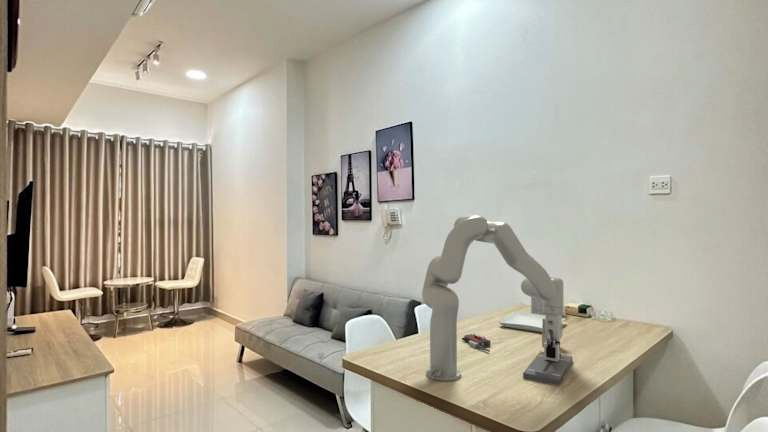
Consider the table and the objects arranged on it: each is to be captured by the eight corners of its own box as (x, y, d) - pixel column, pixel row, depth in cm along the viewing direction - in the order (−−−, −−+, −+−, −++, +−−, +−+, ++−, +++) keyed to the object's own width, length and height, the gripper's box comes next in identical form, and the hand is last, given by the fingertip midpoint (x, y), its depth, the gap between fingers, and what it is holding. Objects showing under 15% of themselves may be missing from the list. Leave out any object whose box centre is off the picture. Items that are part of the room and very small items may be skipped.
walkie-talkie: (458, 342, 188) (487, 354, 170) (457, 332, 188) (487, 344, 170) (473, 339, 192) (503, 351, 174) (473, 330, 192) (503, 341, 174)
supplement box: (555, 318, 231) (554, 287, 231) (530, 315, 238) (530, 285, 238) (558, 313, 242) (558, 284, 243) (535, 311, 249) (534, 282, 249)
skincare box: (541, 346, 180) (541, 318, 180) (545, 343, 184) (545, 316, 184) (556, 349, 176) (556, 320, 176) (560, 346, 179) (560, 319, 179)
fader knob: (558, 361, 153) (557, 345, 154) (544, 359, 156) (544, 343, 156) (559, 359, 156) (559, 343, 156) (545, 356, 159) (545, 341, 159)
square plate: (515, 317, 234) (515, 311, 234) (566, 325, 218) (566, 317, 218) (498, 328, 212) (498, 320, 212) (553, 336, 196) (553, 328, 196)
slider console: (559, 386, 137) (559, 377, 137) (523, 378, 143) (523, 369, 143) (572, 361, 160) (572, 353, 160) (540, 356, 167) (540, 348, 167)
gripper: (559, 315, 149) (559, 362, 149) (567, 306, 164) (567, 349, 164) (537, 312, 153) (538, 358, 153) (547, 304, 168) (547, 346, 168)
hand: (553, 354), depth 158 cm, fingers open, 8 cm apart
